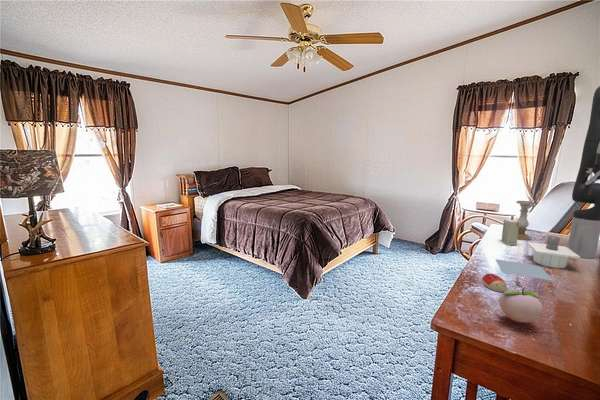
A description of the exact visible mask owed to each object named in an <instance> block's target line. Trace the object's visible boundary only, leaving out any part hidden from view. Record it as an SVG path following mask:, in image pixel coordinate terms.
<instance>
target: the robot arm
mask: <svg viewBox="0 0 600 400" xmlns="http://www.w3.org/2000/svg"><path fill="white" fill-rule="evenodd" d="M591 103H592V104H591V111H590V117H589V124H588V128H587V132H586V136H585V139H584V144H583V148H582V153H581V158H580V165H579V170H578V173H577V176H576V179H575V183H574V185H573V189H572V194H571V199H572V201H573V202H576V203H581V204H582V203H583V204H591V205H594V206H592V207H590V208H589V207H588V208H585V209H584V208H583V209H577V210H575V211H574V212H573V214H572V219H571V227H570V231H569V238H568V242H567V246H566V247H567V248H569V249H570V250H571V251H573V252H574V253H576V254H577V255H578V256H580V258H585V259H595V258H596V254H597V251H598V246H599V241H600V183H599V182H598V181H600V86H598V87H597V88H596V89H595V91H594V93H593V97H592V102H591ZM592 173H593V175H592V176H591V174H592ZM590 176H591V177H590ZM589 177H590V178H589ZM588 178H589V179H588Z"/></svg>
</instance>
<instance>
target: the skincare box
mask: <svg viewBox="0 0 600 400" xmlns="http://www.w3.org/2000/svg"><path fill="white" fill-rule="evenodd" d="M519 223H520V222H517V220H514V219H508V218H507V219H503V224H502V233H501V241H500V242H501V243H502V244H505V245H507V246H515V247H516V246H518V245H517V244H518V239H517V238H518V231H519Z"/></svg>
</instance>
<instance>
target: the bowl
mask: <svg viewBox="0 0 600 400" xmlns="http://www.w3.org/2000/svg"><path fill="white" fill-rule="evenodd" d="M532 260H533V262H534V263H537V265H538V264H539V265H540V266H545V267H550V268H555V269H556V268H557V269H566V268H567V264H568V260H569V257H562V256H555V255H547V254H539V253H536V252H535V251H534V250H533V258H532Z"/></svg>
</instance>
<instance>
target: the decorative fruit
mask: <svg viewBox="0 0 600 400" xmlns="http://www.w3.org/2000/svg"><path fill="white" fill-rule="evenodd" d="M539 299H540V300H542V297H541V296H540V295H538V294H537V293H536V292H532V291H527V290H526V291H525V288H524V287H522V289H521V290H514V289H507V291H505V292H502V293H501V295H500V297H499V298H498V302H499V303H498V304H499V308H500V309H501V310H502V313H504V315H505V316H506V317H508V318H509V319H510V320H512V321H513V322H515V323H534V322H537V321H538V320H540V318H541V317H542V315H543V313H544V307H543V304H542V303H541V301H540V300H539Z"/></svg>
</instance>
